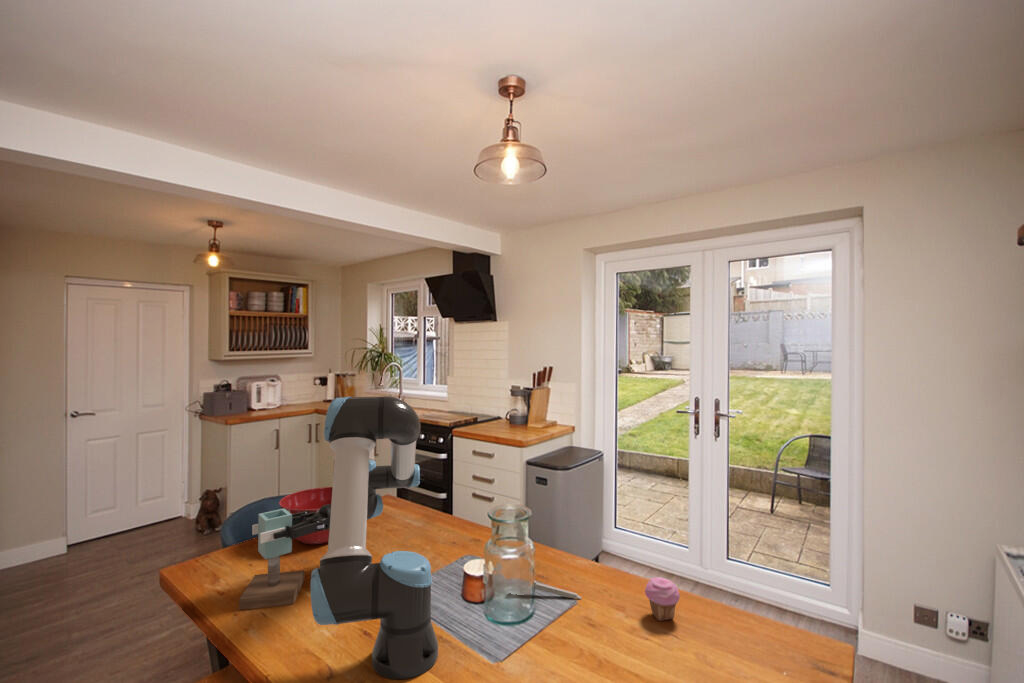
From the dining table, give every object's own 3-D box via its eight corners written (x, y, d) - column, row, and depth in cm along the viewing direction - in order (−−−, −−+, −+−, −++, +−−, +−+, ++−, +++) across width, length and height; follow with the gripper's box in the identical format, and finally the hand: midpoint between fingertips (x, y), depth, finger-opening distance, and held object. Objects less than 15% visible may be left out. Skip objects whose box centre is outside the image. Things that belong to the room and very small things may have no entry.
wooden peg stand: (293, 604, 134) (294, 550, 134) (239, 609, 131) (239, 555, 131) (304, 580, 148) (304, 531, 148) (255, 584, 145) (255, 535, 145)
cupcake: (656, 628, 124) (656, 589, 124) (639, 610, 132) (639, 574, 132) (686, 623, 126) (686, 585, 126) (667, 605, 134) (667, 570, 134)
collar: (291, 552, 140) (292, 514, 140) (265, 559, 135) (265, 520, 135) (284, 544, 145) (284, 508, 145) (258, 551, 140) (258, 513, 140)
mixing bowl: (279, 530, 187) (279, 490, 188) (355, 519, 200) (355, 482, 200) (277, 559, 162) (278, 514, 162) (364, 545, 174) (364, 502, 174)
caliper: (511, 594, 140) (511, 573, 140) (512, 592, 142) (512, 571, 142) (581, 600, 137) (581, 578, 137) (581, 598, 138) (581, 577, 138)
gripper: (348, 536, 145) (266, 559, 129) (323, 518, 160) (247, 536, 144) (348, 511, 145) (266, 531, 129) (323, 495, 160) (247, 511, 144)
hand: (256, 534), depth 137 cm, fingers closed on collar, 7 cm apart
